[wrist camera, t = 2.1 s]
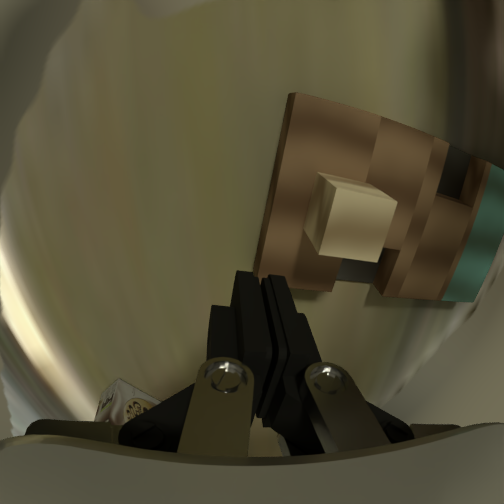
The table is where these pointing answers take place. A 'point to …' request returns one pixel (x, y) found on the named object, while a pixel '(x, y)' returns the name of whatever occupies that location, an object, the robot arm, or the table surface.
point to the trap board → (394, 185)
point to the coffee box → (122, 403)
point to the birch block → (348, 218)
